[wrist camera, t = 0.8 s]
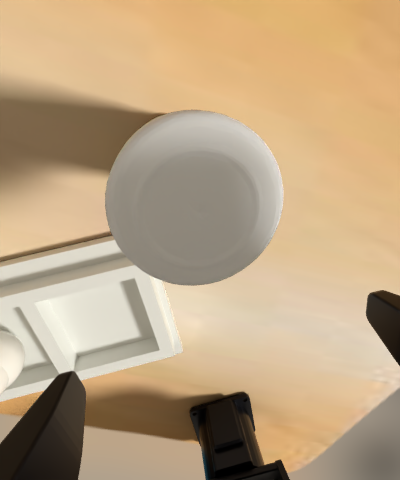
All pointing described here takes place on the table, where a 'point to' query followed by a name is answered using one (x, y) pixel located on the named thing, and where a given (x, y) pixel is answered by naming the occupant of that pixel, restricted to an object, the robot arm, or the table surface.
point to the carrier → (83, 314)
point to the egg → (10, 359)
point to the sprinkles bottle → (193, 197)
